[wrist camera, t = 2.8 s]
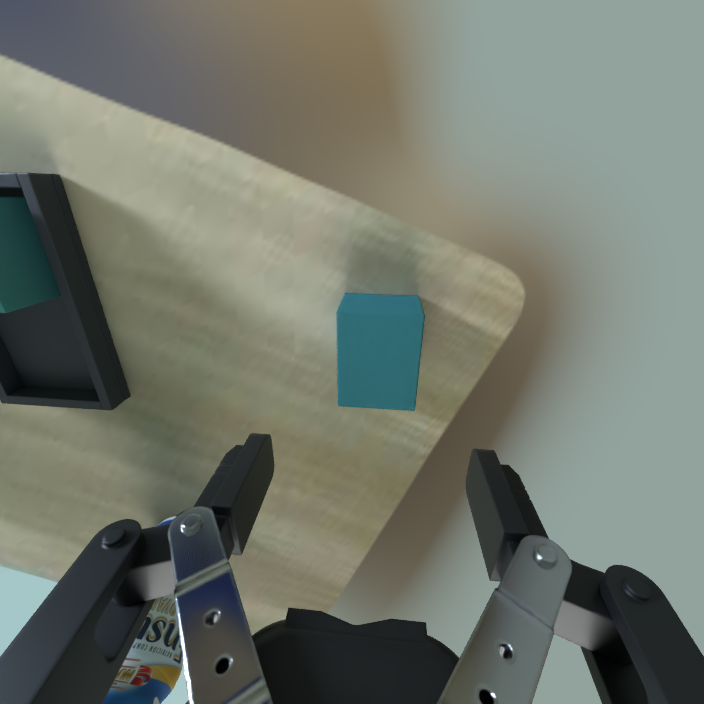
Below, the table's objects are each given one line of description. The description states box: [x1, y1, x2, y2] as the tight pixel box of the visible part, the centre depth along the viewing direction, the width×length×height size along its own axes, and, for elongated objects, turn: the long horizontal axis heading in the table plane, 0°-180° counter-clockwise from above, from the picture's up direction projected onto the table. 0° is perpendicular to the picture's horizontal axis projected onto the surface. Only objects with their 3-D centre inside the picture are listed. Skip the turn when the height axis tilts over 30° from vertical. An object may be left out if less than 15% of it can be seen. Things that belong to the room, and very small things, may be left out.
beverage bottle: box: [103, 516, 183, 704], centre depth 27 cm, size 8×8×20 cm
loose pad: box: [337, 293, 425, 411], centre depth 22 cm, size 5×6×4 cm
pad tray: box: [0, 173, 130, 410], centre depth 24 cm, size 10×17×2 cm, turn 179°
